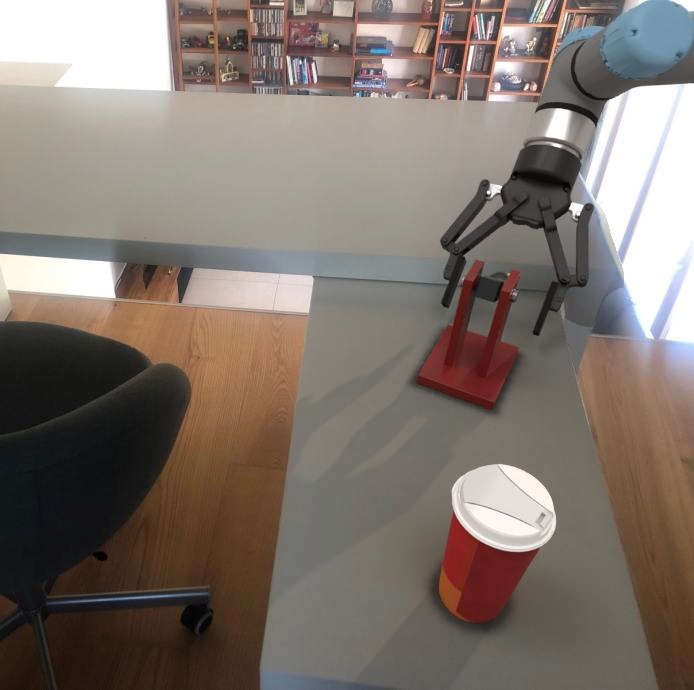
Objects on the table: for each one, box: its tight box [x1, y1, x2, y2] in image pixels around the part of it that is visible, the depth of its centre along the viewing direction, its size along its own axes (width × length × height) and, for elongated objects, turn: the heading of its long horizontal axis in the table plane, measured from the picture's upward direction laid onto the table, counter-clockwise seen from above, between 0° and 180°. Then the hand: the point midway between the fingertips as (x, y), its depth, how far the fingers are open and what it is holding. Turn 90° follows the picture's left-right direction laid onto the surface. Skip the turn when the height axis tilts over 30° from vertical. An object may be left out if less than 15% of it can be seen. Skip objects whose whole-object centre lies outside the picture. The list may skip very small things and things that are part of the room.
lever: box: [474, 270, 510, 303], centre depth 81 cm, size 14×4×4 cm, turn 149°
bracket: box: [416, 259, 522, 411], centre depth 80 cm, size 11×9×14 cm
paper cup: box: [438, 463, 557, 624], centre depth 57 cm, size 8×8×14 cm
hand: (489, 319), depth 87 cm, fingers open, 11 cm apart
